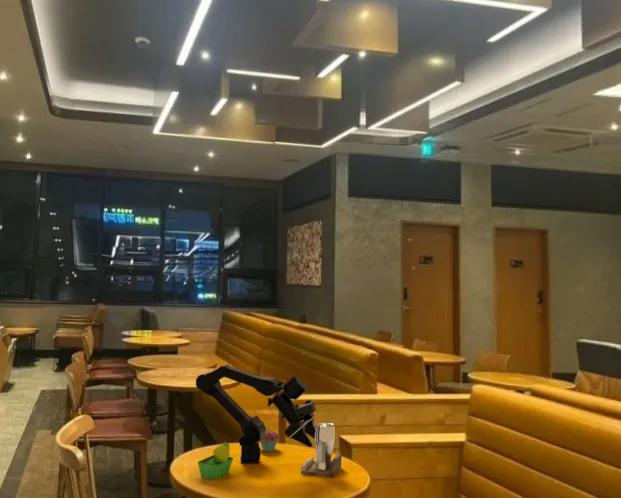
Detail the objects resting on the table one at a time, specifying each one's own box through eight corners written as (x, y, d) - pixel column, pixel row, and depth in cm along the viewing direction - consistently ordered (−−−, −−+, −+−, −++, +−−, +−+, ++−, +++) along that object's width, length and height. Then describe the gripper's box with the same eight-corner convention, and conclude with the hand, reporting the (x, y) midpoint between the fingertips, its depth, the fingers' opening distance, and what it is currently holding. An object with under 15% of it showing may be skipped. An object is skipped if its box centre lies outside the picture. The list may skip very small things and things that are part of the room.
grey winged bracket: (300, 473, 217) (301, 459, 217) (310, 463, 228) (311, 449, 229) (333, 478, 214) (333, 463, 214) (341, 467, 225) (341, 453, 225)
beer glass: (335, 470, 218) (337, 427, 219) (315, 471, 217) (317, 427, 217) (330, 464, 225) (332, 422, 225) (311, 465, 224) (313, 422, 224)
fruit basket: (215, 468, 219) (216, 435, 219) (236, 472, 215) (238, 439, 215) (195, 477, 209) (197, 443, 209) (217, 482, 205) (219, 447, 205)
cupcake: (278, 453, 239) (279, 421, 240) (255, 452, 239) (257, 420, 240) (279, 446, 248) (280, 416, 248) (258, 445, 248) (259, 415, 248)
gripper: (295, 398, 215) (325, 435, 212) (310, 389, 233) (337, 422, 230) (272, 419, 217) (301, 455, 214) (288, 407, 235) (315, 441, 232)
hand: (315, 443), depth 222 cm, fingers open, 9 cm apart
